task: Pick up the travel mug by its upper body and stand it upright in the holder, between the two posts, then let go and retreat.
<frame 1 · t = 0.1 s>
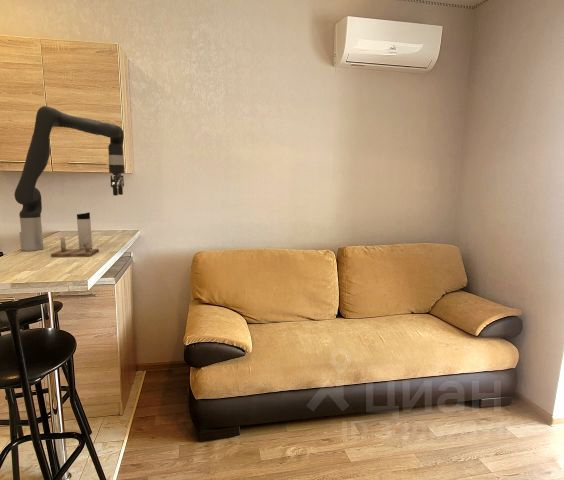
hand: (118, 195, 199), 29 cm above the bar counter, fingers open, 8 cm apart
travel mug: (86, 249, 201), on the bar counter
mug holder: (75, 254, 188), on the bar counter
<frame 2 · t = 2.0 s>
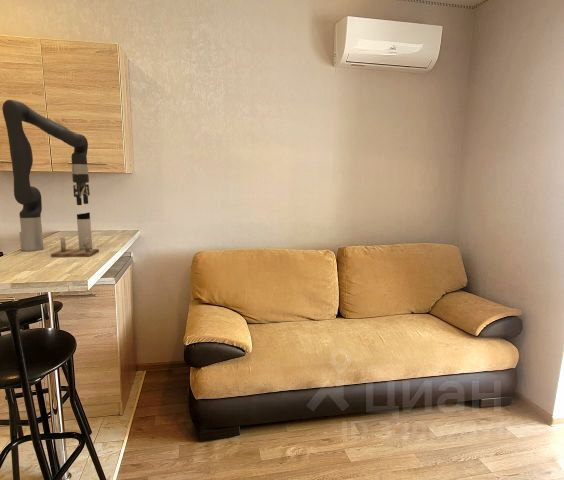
hand: (82, 204, 197), 24 cm above the bar counter, fingers open, 8 cm apart
nothing on the bar counter moved.
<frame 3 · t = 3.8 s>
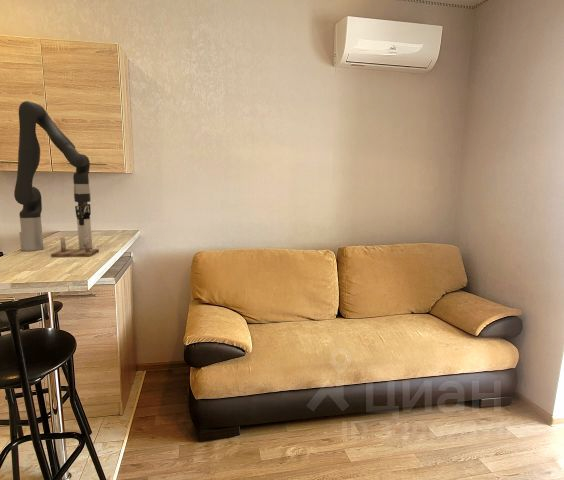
hand: (84, 224, 199), 14 cm above the bar counter, fingers closed on travel mug, 6 cm apart
travel mug: (86, 249, 201), on the bar counter, touching gripper
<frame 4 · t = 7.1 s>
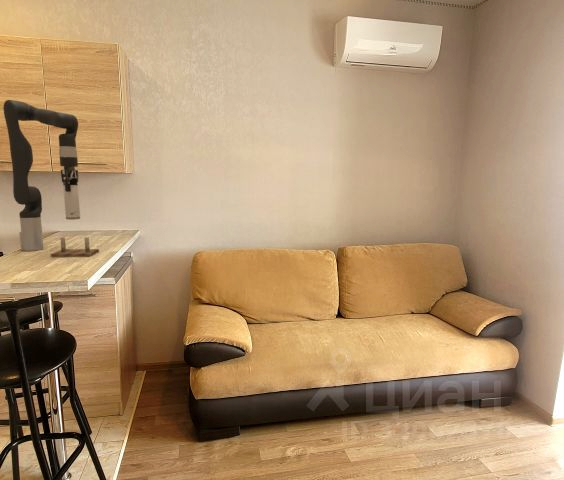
hand: (71, 191, 183), 32 cm above the bar counter, fingers closed on travel mug, 6 cm apart
travel mug: (73, 219, 185), point 18 cm above the bar counter, touching gripper
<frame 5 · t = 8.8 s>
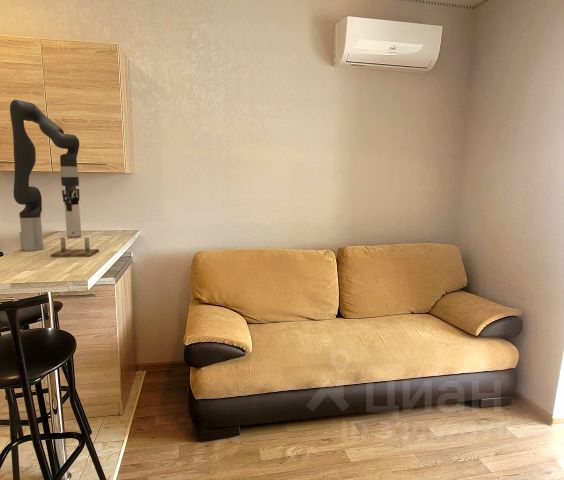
hand: (72, 210, 185), 22 cm above the bar counter, fingers closed on travel mug, 6 cm apart
travel mug: (74, 237, 187), point 8 cm above the bar counter, touching gripper
when the fingers open (17 cm above the bar counter, at t = 10.4 s): travel mug drops 2 cm, resting on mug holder.
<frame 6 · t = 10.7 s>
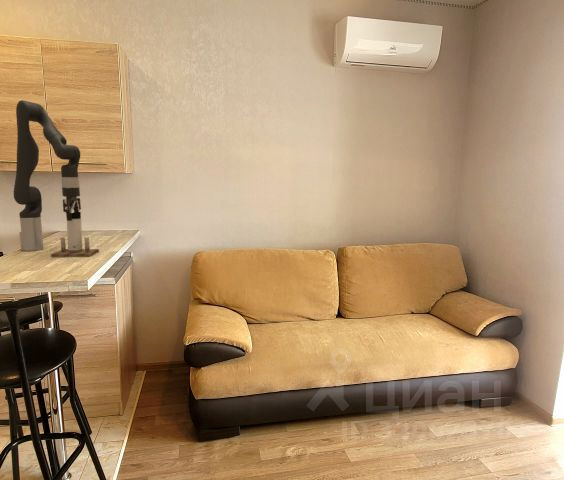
hand: (73, 219, 185), 18 cm above the bar counter, fingers open, 8 cm apart
travel mug: (75, 251, 188), point 1 cm above the bar counter, touching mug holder
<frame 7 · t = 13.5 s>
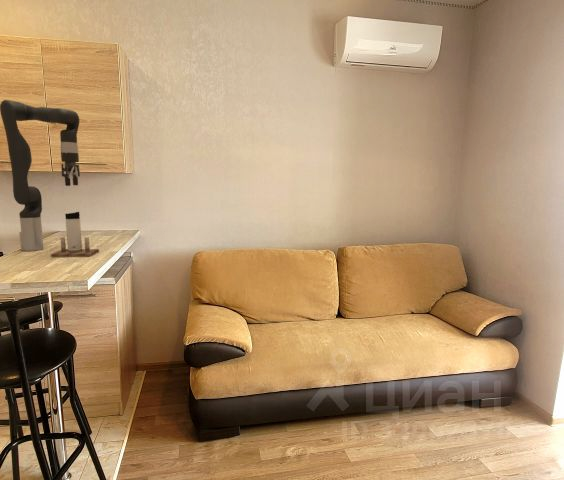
hand: (71, 185, 185), 34 cm above the bar counter, fingers open, 8 cm apart
nothing on the bar counter moved.
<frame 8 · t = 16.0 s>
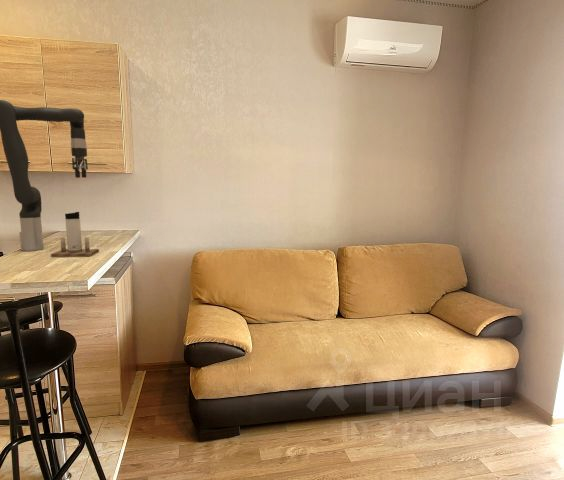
hand: (81, 177, 207), 38 cm above the bar counter, fingers open, 8 cm apart
nothing on the bar counter moved.
at the end: travel mug 0.0 cm off-centre on the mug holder, point 1.3 cm above the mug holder's base; travel mug tilted 0°; the gripper is holding nothing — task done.
